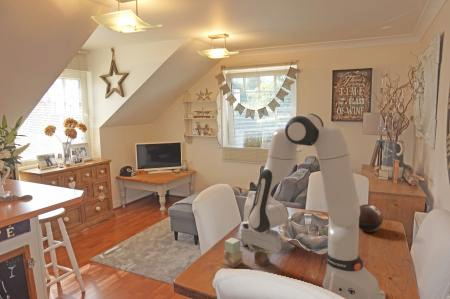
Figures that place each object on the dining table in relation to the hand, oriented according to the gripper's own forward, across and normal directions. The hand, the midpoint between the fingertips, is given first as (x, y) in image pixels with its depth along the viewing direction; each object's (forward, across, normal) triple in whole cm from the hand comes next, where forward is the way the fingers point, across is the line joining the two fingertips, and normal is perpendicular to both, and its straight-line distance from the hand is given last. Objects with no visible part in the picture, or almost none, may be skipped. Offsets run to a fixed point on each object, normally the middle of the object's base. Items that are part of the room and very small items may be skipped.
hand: (260, 255), depth 147 cm
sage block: (-2, +10, +8) cm, 13 cm away
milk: (+4, +18, -21) cm, 28 cm away
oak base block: (+4, +10, +8) cm, 13 cm away
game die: (+4, +16, -11) cm, 20 cm away
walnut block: (+4, -1, -1) cm, 4 cm away
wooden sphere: (+3, -26, -68) cm, 73 cm away
